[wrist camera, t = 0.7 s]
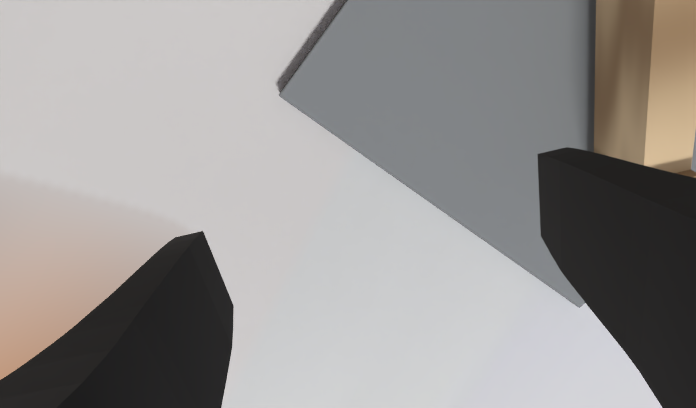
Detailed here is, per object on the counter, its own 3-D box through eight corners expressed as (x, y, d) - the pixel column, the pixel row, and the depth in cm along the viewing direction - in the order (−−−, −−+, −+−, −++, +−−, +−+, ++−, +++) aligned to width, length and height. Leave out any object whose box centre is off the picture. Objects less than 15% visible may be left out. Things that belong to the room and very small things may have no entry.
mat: (951, -27, 17) (961, -26, 16) (575, 303, 22) (579, 307, 21) (689, -477, 11) (698, -487, 11) (279, 93, 17) (279, 95, 16)
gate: (632, 178, 18) (694, 223, 15) (593, 187, 18) (647, 233, 15) (652, -181, 13) (749, -212, 10) (598, -168, 13) (679, -196, 10)
